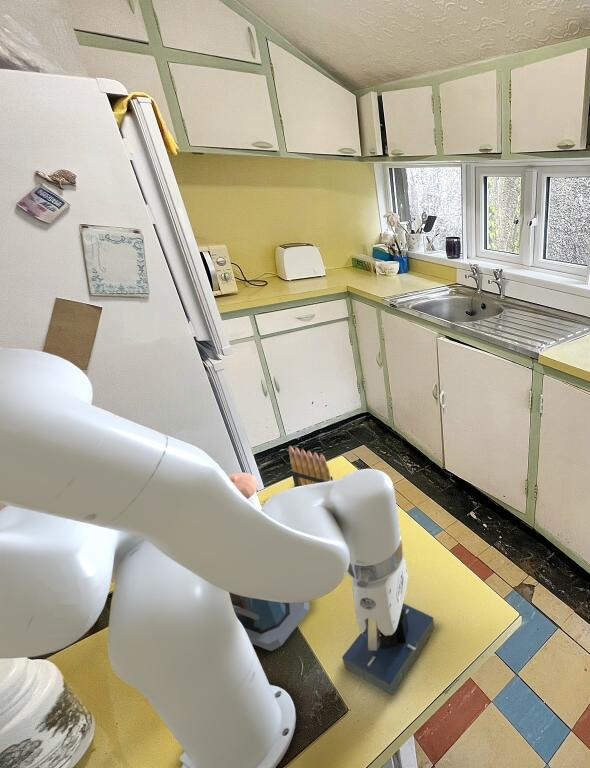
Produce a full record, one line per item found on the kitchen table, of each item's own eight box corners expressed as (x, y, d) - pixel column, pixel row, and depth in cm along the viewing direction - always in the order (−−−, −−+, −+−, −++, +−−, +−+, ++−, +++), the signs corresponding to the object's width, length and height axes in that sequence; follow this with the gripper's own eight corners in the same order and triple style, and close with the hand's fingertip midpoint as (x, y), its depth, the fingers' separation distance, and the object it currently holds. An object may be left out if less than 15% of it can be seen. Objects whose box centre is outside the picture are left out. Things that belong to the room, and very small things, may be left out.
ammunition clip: (294, 488, 99) (283, 447, 93) (300, 483, 100) (289, 442, 95) (331, 498, 96) (321, 457, 90) (336, 493, 97) (327, 452, 92)
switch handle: (408, 629, 66) (405, 608, 63) (405, 643, 64) (402, 621, 61) (374, 629, 65) (369, 608, 63) (370, 643, 63) (365, 621, 61)
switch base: (394, 697, 60) (392, 685, 58) (343, 667, 63) (339, 655, 62) (436, 629, 69) (435, 617, 67) (389, 606, 72) (387, 595, 71)
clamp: (314, 604, 72) (286, 513, 63) (275, 653, 65) (236, 559, 55) (168, 553, 81) (124, 467, 72) (118, 591, 74) (62, 501, 64)
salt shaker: (231, 570, 78) (199, 493, 69) (244, 541, 84) (216, 466, 76) (273, 564, 80) (246, 487, 71) (283, 535, 86) (260, 461, 77)
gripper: (386, 607, 49) (402, 692, 57) (413, 510, 63) (422, 589, 72) (323, 607, 49) (348, 693, 57) (364, 510, 63) (379, 589, 72)
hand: (389, 634), depth 64 cm, fingers closed on switch handle, 2 cm apart
